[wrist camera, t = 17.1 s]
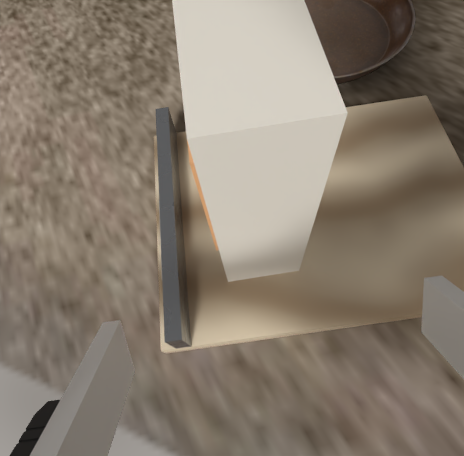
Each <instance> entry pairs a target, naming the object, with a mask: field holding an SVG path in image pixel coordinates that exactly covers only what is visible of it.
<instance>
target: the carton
mask: <svg viewBox="0 0 464 456" xmlns="http://www.w3.org/2000/svg"><path fill="white" fill-rule="evenodd" d="M172 2H173V11H174V21H175V30H176V40H177V49H178V59H179V68H180V78H181V87H182V97H183V106H184V116H185V126H186V135H187V144H188V153H189V163H190V166H191V169H192V173H193V176H194V179H195V183H196V186H197V189H198V192H199V196H200V199H201V202H202V205H203V209H204V212H205V215H206V218H207V222H208V225H209V228H210V231H211V235H212V238H213V241H214V244H215V248H216V251H217V250H219V252H220V255H221V259H222V262H223V266H224V269H225V273H226V276H227V280H228V282H231V281H237V280H243V279H250V278H256V277H262V276H269V275H275V274H281V273H288V272H294V271H299V269H300V266H301V263H302V260H303V256H304V253H305V250H306V247H307V243H308V240H309V237H310V234H311V230H312V227H313V224H314V221H315V217H316V214H317V211H318V208H319V204H320V201H321V198H322V195H323V191H324V188H325V185H326V182H327V178H328V175H329V172H330V169H331V165H332V162H333V159H334V156H335V152H336V149H337V146H338V143H339V139H340V136H341V133H342V130H343V126H344V123H345V120H346V117H347V113H348V112H347V110H346V107H345V105H344V102H343V99H342V97H341V94H340V92H339V89H338V86H337V84H336V81H335V79H334V76H333V73H332V71H331V68H330V66H329V63H328V61H327V58H326V55H325V53H324V50H323V48H322V45H321V42H320V40H319V37H318V35H317V32H316V29H315V27H314V24H313V22H312V19H311V16H310V14H309V11H308V9H307V6H306V3H305V1H304V0H172Z"/></svg>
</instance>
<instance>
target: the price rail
mask: <svg viewBox="0 0 464 456" xmlns="http://www.w3.org/2000/svg"><path fill="white" fill-rule="evenodd" d="M156 129H157V155H158V181H159V218H160V244H161V271H162V286H163V312H164V338H165V343H167V344H169V345H170V346H172V347H174V348H176V349H177V348H184V347H191V333H190V319H189V305H188V291H187V277H186V262H185V248H184V234H183V220H182V206H181V192H180V178H179V163H178V149H177V135H176V130H175V127H174V124H173V121H172V118H171V115H170V112H169V108H168V107H167V108H160V109H156Z"/></svg>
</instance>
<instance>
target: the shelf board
mask: <svg viewBox="0 0 464 456" xmlns="http://www.w3.org/2000/svg"><path fill="white" fill-rule="evenodd" d="M346 110H347V112H348V113H347V117H346V120H345V123H344V126H343V130H342V133H341V136H340V139H339V143H338V146H337V149H336V152H335V156H334V159H333V162H332V165H331V169H330V172H329V175H328V178H327V182H326V185H325V188H324V191H323V195H322V198H321V201H320V204H319V208H318V211H317V214H316V217H315V221H314V224H313V227H312V230H311V234H310V237H309V240H308V243H307V247H306V250H305V253H304V256H303V260H302V263H301V266H300V269H299V271H294V272H288V273H281V274H275V275H269V276H262V277H256V278H250V279H243V280H237V281H231V282H228V280H227V276H226V273H225V269H224V266H223V262H222V259H221V255H220V252H219V250H217V251H216V248H215V244H214V241H213V238H212V235H211V231H210V228H209V225H208V222H207V218H206V215H205V212H204V209H203V205H202V202H201V199H200V196H199V192H198V189H197V186H196V183H195V179H194V176H193V173H192V169H191V166H190V163H189V153H188V144H187V135H186V131H185V132H179V133H176V135H177V149H178V163H179V178H180V192H181V206H182V220H183V234H184V248H185V262H186V277H187V291H188V305H189V319H190V333H191V347H184V348H177V349H176V348H174V347H172V346H170V345H169V344H167V343H165V338H164V312H163V286H162V271H161V244H160V218H159V181H158V155H157V136H154V157H155V187H156V217H157V247H158V277H159V307H160V337H161V351H162V352H165V353H172V352H180V351H187V350H194V349H201V348H208V347H215V346H222V345H229V344H236V343H243V342H250V341H257V340H264V339H271V338H278V337H285V336H292V335H299V334H306V333H313V332H320V331H327V330H334V329H341V328H348V327H355V326H362V325H369V324H376V323H383V322H390V321H397V320H404V319H411V318H418V317H422V309H423V288H424V278H427V277H435V276H443V277H445V278H446V279H447V280H449V281H450V282H451V283H453V284H454V285H455V286H457V287H458V288H459V289H461V290H462V291H463V292H464V167H463V165H462V163H461V161H460V159H459V157H458V155H457V153H456V151H455V149H454V148H453V146H452V144H451V142H450V140H449V138H448V136H447V134H446V132H445V130H444V128H443V126H442V124H441V122H440V120H439V118H438V117H437V115H436V113H435V111H434V109H433V107H432V105H431V103H430V101H429V99H428V97H427V95H425V96H418V97H411V98H405V99H398V100H391V101H385V102H378V103H371V104H365V105H358V106H352V107H346Z"/></svg>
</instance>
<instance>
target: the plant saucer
mask: <svg viewBox="0 0 464 456" xmlns="http://www.w3.org/2000/svg"><path fill="white" fill-rule="evenodd" d="M304 1H305V3H306V6H307V9H308V11H309V14H310V16H311V19H312V22H313V24H314V27H315V29H316V32H317V35H318V37H319V40H320V42H321V45H322V48H323V50H324V53H325V55H326V58H327V61H328V63H329V66H330V68H331V71H332V73H333V76H334V79H335V81H336V84H341V83H345V82H348V81H352V80H355V79H357V78H360V77H362V76H365V75H367V74H369V73H371V72H373V71H375V70H376V69H378V68H380V67H381V66H383V65H384V64H386V63H387V62H388V61H390V60H391V59H392V58H393V57H394V56H395V55H397V54H398V53H399V52H400V51H401V50H402V49H403V48H404V46H405V45H406V44H407V43H408V41H409V39H410V38H411V36H412V33H413V30H414V27H415V11H414V7H413V4H412V2H411V0H304Z"/></svg>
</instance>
